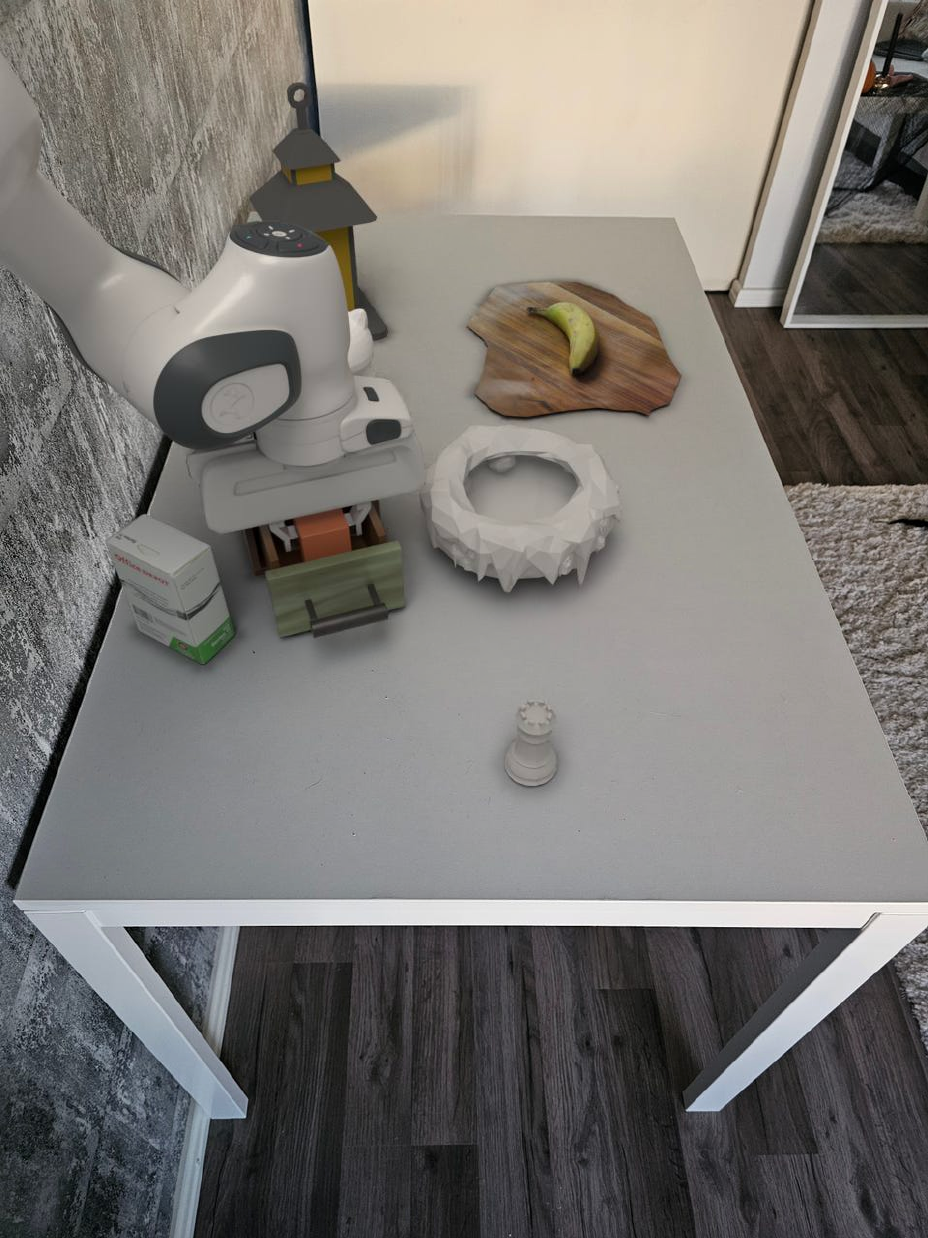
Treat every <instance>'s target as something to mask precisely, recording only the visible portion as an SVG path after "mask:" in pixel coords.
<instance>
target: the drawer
mask: <svg viewBox="0 0 928 1238" xmlns="http://www.w3.org/2000/svg"><path fill="white" fill-rule="evenodd" d="M352 506H353V505H352ZM352 506H347V507H343V508H341V509H342V511H343V513H344V514H346V513H350V510H351V508H352ZM380 520H381V518H380V519H379V517H378V514H377V512H376V510H375V508H374V505H373V503H372V501H371V509H370V511H369V512H368V514H367V516H366V517H365V519H364V520H363V522H362V523H361V528H362V535H359V536H355V537H350V540H351V549H352V551H350V552H345V553H341V554H337V555H333V556H328V557H324V558H320V559H316V560H311V561H307V562H303V559H302V556H301V553H300V550H299V549H298V550H294V551H289V552H286V550H285V547H284V543H283V540H282V539H280V538H279V537H278V536H277V535H276V534H274V533H273V532H272V531H271V530H270V528H269V525H268V524H266V525H262V526H257V527H256V530H257V534H258V539H259V543H260V546H261V550H262V553H263V556H264V560H265V563H266V566H267V570H268V571H265V573H264V574H265V578H266V582H267V587H268V592H269V598H270V601H271V604H272V610H273V616H274V619H275V624H276V629H277V632H278V633H277V634H278V636H279V638H284V637H288V636H293V635H297V634H300V633H304V632H308V631H310V632H311V635H312V637H313V638H314V639H316V638H320V637H325V636H328V635H332V634H336V633H340V632H344V631H347V630H351V629H356V628H360V627H363V626H367V625H372V624H377V623H380V622H384V621H386V620H389V611H391V610H395V609H399V608H403V607H405V606H406V605H405V588H404V571H403V553H402V552H403V551H402V547H401V545H400V542H399V541H398V540H394V541H389V542H388V539H387V537H388V535H387V532H386V530H385V528H384V526H383V524H382V521H380ZM284 524H285V525H286V526H287V527H288V526H293V525H294V524H293V519H289V520H284Z"/></svg>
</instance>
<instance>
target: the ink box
mask: <svg viewBox="0 0 928 1238" xmlns="http://www.w3.org/2000/svg"><path fill="white" fill-rule="evenodd" d="M105 545H106V548H107V551H108V553H109V556H110V558H111V561H112V563H113V566H114V569H115V572H116V574H117V576H118V579H119V582H120V584H121V587H122V589H123V592H124V595H125V598H126V600H127V603H128V606H129V608H130V611H131V613H132V616H133V619H134V621H135V624H136V626H137V629H138V631H139V632H140V633H142V634H144V635H145V636H148V637H150V638H151V639H153V640H155V641H157V642H159V643H161V644H162V645H164V646H166V647H168V648H170V649H172V650H174V651H176V652H177V653H179V654H181V655H183V656H185V657H186V658H188V659H190V660H192V661H194V662H196V663H198V664H200V665H206V664H207V663H208V662H209V661H210V660H211V659H212V658H213V657H214V656H215V655H216V654H218V652H220V651H221V650H222V649H223V648H224V647H225V646H226V645H227V644H228V643H229V642H230V641H231V640H232V638H234V636H235V634H236V633H235V629H234V625H233V622H232V619H231V615H230V612H229V608H228V604H227V601H226V597H225V593H224V590H223V587H222V583H221V580H220V576H219V572H218V569H217V565H216V561H215V559H214V554H213V551H212V547H211V545H210V544H207V543H206V542H203V541H201V540H199V539H198V538H195V537H193V536H191V535H190V534H187V533H185V532H183V531H181V530H179V529H177V528H175V527H173V526H171V525H169V524H166V523H164V522H163V521H161V520H159V519H157V518H155V517H153V516H151V515H148V514H146V513H143V514H141V515H140V516H138V517H137V518H135V519H133V520H132V521H131V522H129V523H128V524H126V525H124V526H123V527H121V528H120V529H119V530H117V531H116V532H115V533H113V534H112V535H111V536H109V537H108V538H106V539H105Z"/></svg>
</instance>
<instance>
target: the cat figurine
mask: <svg viewBox="0 0 928 1238" xmlns="http://www.w3.org/2000/svg"><path fill="white" fill-rule="evenodd" d="M348 316H349V325H350V337H351V340H350V347H349V351H348V364H349V367H350V369H351V371H352V374H353V375H355V376H363V377H373V378H377V376H376V373H375V371H374V370H373V369H372V367H371V365H372V362H373V359H374V355H375V354H374V353H375V345H374V340H373V339H372V335H371V333H370V330H369V329H368V327H367V326H368V318H367V314H366V312H365V311H364V309H355V310H353V311H351V312H349V311H348Z"/></svg>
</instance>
